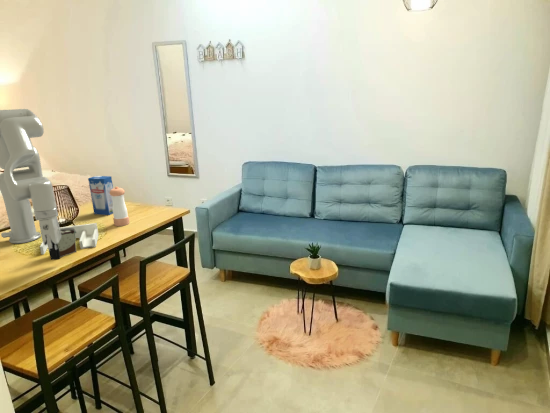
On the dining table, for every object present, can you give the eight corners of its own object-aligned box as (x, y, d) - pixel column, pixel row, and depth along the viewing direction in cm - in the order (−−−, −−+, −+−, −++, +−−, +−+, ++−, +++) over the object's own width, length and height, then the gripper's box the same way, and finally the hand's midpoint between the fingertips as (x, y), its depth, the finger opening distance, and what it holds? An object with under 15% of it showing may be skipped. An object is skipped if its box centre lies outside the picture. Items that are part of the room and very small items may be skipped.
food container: (73, 247, 176) (68, 225, 173) (79, 250, 172) (75, 228, 169) (43, 257, 167) (38, 234, 164) (49, 260, 163) (44, 237, 160)
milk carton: (94, 214, 222) (87, 178, 216) (101, 210, 228) (96, 175, 222) (109, 215, 219) (103, 178, 213) (116, 211, 225) (111, 176, 219)
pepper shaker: (124, 226, 200) (118, 188, 195) (111, 226, 202) (105, 188, 196) (132, 221, 207) (127, 185, 201) (119, 221, 208) (113, 184, 203)
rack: (41, 254, 169) (38, 241, 167) (48, 241, 183) (45, 229, 181) (95, 246, 175) (93, 233, 174) (98, 235, 189) (96, 222, 188)
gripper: (53, 217, 146) (63, 264, 152) (60, 207, 160) (69, 250, 165) (30, 220, 144) (41, 268, 149) (39, 209, 158) (48, 253, 163)
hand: (55, 258), depth 157 cm, fingers closed
